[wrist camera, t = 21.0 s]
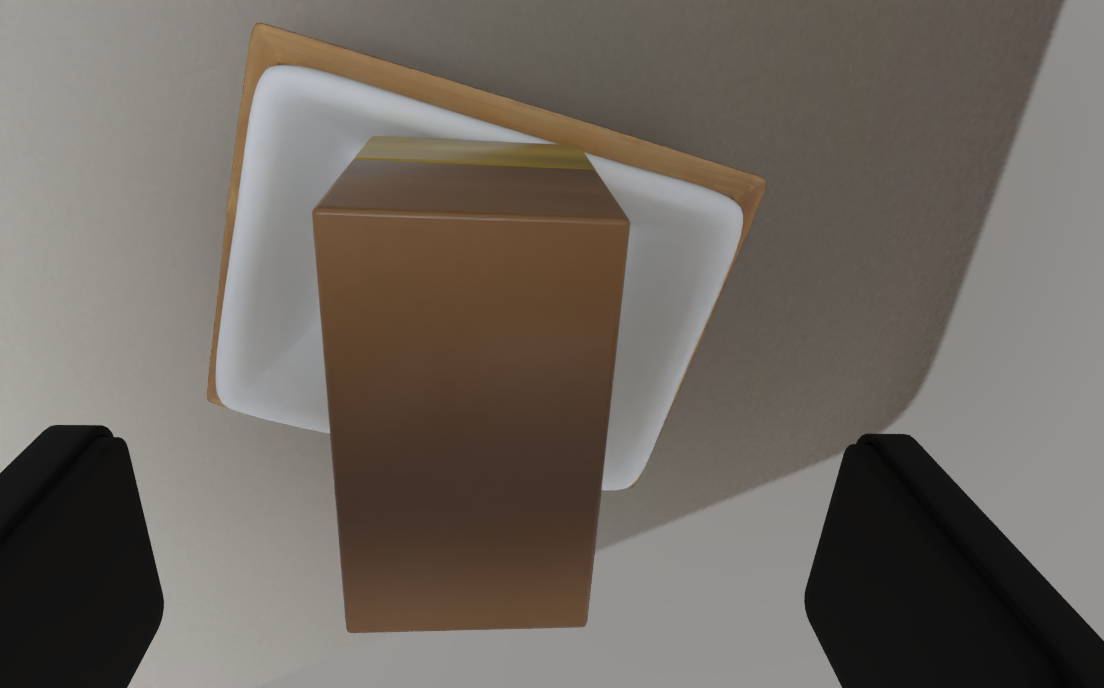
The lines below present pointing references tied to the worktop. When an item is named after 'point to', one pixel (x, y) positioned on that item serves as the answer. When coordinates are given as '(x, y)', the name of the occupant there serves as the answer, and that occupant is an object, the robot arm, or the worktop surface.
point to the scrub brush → (468, 379)
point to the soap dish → (459, 114)
